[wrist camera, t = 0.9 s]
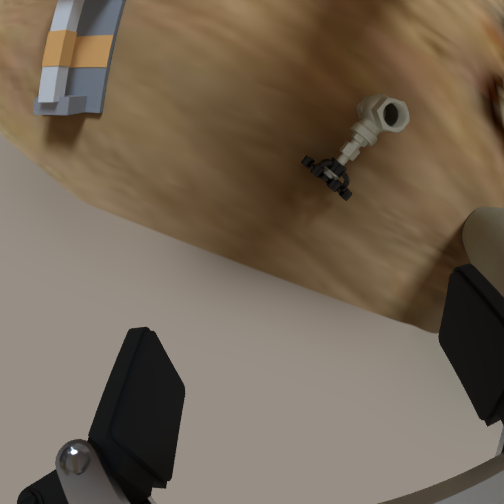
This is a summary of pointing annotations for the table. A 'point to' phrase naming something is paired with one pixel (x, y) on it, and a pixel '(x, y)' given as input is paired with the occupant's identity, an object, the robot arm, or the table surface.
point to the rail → (78, 57)
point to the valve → (361, 138)
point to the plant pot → (486, 243)
